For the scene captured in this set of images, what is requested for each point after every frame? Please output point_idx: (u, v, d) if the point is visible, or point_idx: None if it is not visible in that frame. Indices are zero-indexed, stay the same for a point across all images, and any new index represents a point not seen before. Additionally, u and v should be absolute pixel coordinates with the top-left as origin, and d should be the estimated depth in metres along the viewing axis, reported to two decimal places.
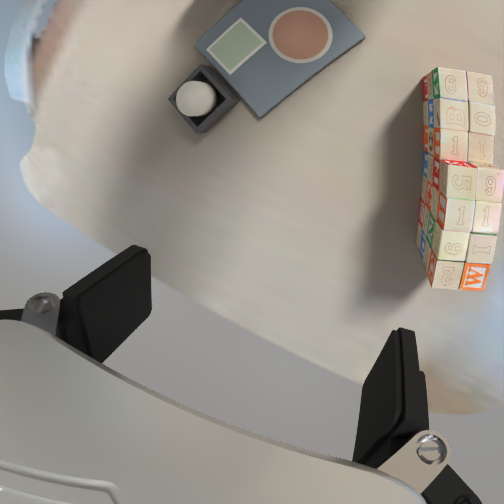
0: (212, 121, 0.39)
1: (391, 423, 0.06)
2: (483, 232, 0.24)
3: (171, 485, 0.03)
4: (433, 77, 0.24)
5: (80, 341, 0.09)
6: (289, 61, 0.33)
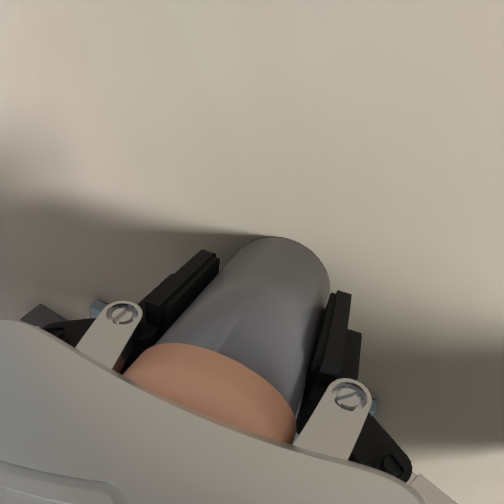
0: None
1: (312, 369, 0.08)
2: None
3: (171, 485, 0.03)
4: None
5: None
6: None
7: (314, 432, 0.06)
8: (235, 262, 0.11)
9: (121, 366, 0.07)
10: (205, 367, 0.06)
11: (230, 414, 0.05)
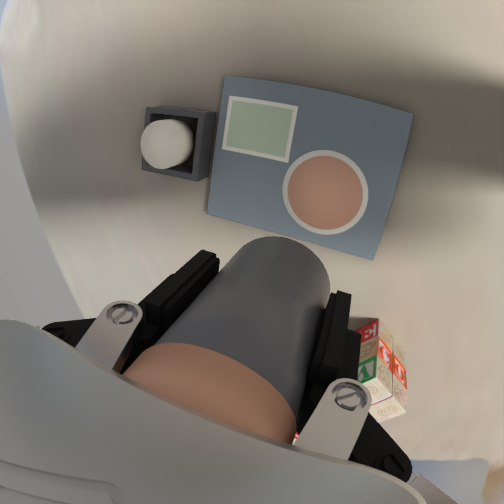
0: None
1: (312, 368, 0.08)
2: None
3: (171, 485, 0.03)
4: (370, 361, 0.27)
5: None
6: (284, 203, 0.29)
7: (314, 432, 0.06)
8: (235, 262, 0.11)
9: (121, 366, 0.07)
10: (205, 367, 0.06)
11: (230, 414, 0.05)
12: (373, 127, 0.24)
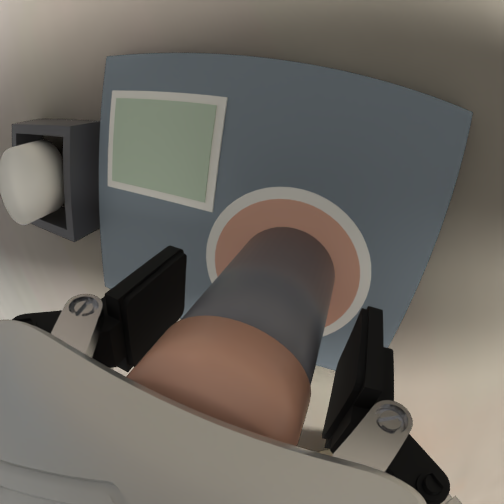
0: None
1: (352, 391, 0.07)
2: None
3: (171, 485, 0.03)
4: None
5: (121, 342, 0.09)
6: None
7: (351, 450, 0.06)
8: (249, 249, 0.12)
9: (91, 355, 0.07)
10: (232, 334, 0.07)
11: (256, 373, 0.06)
12: (387, 137, 0.11)
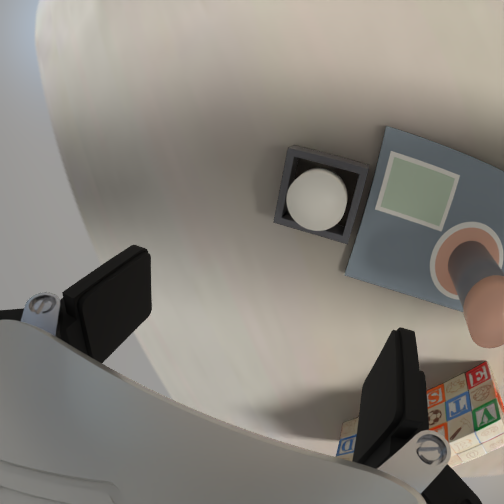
0: None
1: (391, 423, 0.06)
2: None
3: (171, 485, 0.03)
4: (491, 404, 0.23)
5: (80, 341, 0.09)
6: (430, 270, 0.26)
7: None
8: (471, 251, 0.22)
9: None
10: None
11: None
12: None
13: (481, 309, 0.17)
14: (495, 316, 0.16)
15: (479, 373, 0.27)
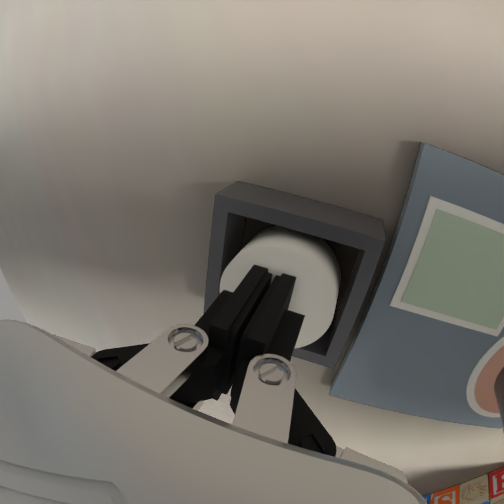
0: None
1: (240, 343, 0.08)
2: None
3: (171, 485, 0.03)
4: None
5: (220, 373, 0.09)
6: (466, 388, 0.14)
7: (247, 414, 0.06)
8: None
9: (168, 396, 0.07)
10: None
11: None
12: None
13: None
14: None
15: None
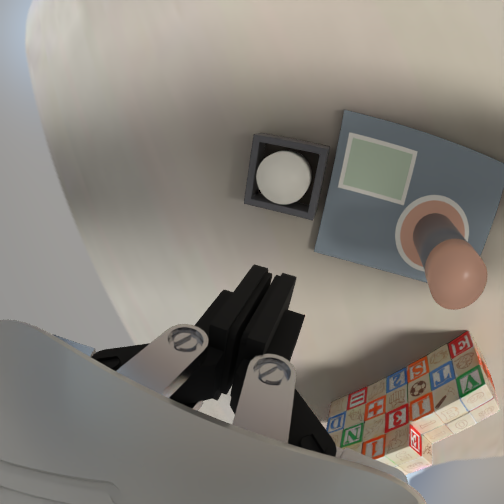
0: None
1: (240, 343, 0.08)
2: None
3: (171, 485, 0.03)
4: (474, 370, 0.25)
5: (220, 373, 0.09)
6: (395, 243, 0.29)
7: (247, 414, 0.06)
8: (432, 221, 0.25)
9: (168, 396, 0.07)
10: (464, 242, 0.20)
11: (475, 251, 0.19)
12: (478, 176, 0.23)
13: (439, 269, 0.19)
14: (455, 276, 0.19)
15: (461, 342, 0.30)
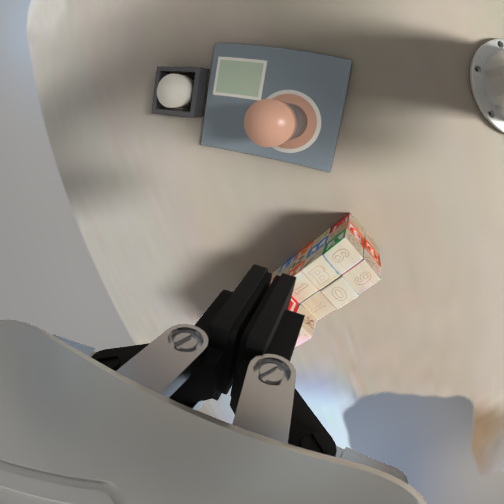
0: None
1: (240, 343, 0.08)
2: None
3: (171, 485, 0.03)
4: (341, 233, 0.33)
5: (220, 373, 0.09)
6: None
7: (247, 414, 0.06)
8: None
9: (168, 396, 0.07)
10: None
11: (283, 102, 0.28)
12: (321, 71, 0.32)
13: (248, 114, 0.28)
14: (264, 119, 0.28)
15: (342, 222, 0.38)
